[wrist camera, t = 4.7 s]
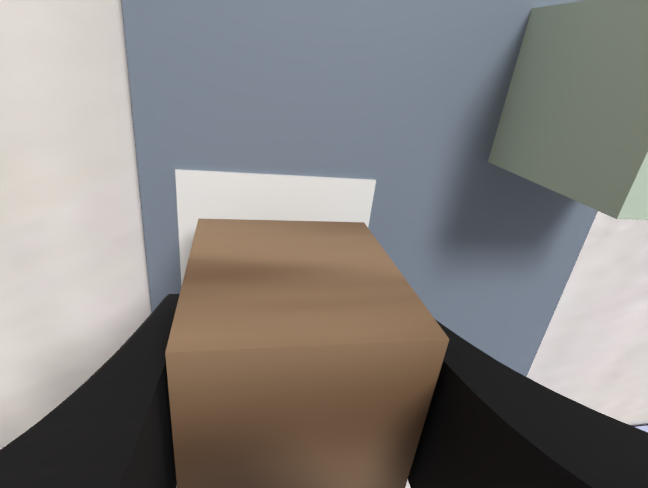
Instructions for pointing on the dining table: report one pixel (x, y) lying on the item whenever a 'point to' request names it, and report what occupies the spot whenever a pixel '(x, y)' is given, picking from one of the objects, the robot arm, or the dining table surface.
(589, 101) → the sage block
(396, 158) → the grey mat
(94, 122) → the dining table surface
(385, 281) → the walnut block
